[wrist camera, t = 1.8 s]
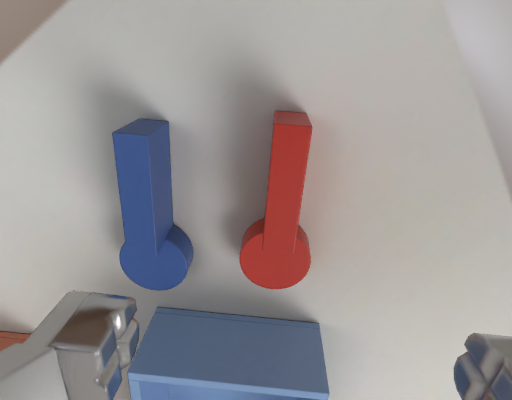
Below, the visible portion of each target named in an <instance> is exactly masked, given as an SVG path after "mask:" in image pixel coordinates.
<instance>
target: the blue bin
mask: <svg viewBox="0 0 512 400" xmlns="http://www.w3.org/2000/svg"><path fill="white" fill-rule="evenodd" d="M127 375H128V381H129V387H130V394H131V400H328V397H329V387H328V380H327V374H326V367H325V360H324V353H323V347H322V340H321V333H320V327H319V323H310V322H300V321H290V320H280V319H270V318H260V317H250V316H240V315H230V314H220V313H210V312H200V311H190V310H180V309H170V308H160V307H157V309H156V311H155V313H154V315H153V318H152V320H151V322H150V324H149V326H148V328H147V331H146V333H145V335H144V337H143V339H142V342H141V344H140V346H139V348H138V350H137V352H136V355H135V357H134V359H133V361H132V363H131V365H130V368H129V370H128V372H127Z"/></svg>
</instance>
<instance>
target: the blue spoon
mask: <svg viewBox="0 0 512 400" xmlns="http://www.w3.org/2000/svg"><path fill="white" fill-rule="evenodd" d="M112 135H113V144H114V152H115V160H116V168H117V177H118V185H119V193H120V201H121V210H122V218H123V226H124V234H125V243H124V244H123V246H122V248H121V251H120V264H121V267H122V269H123V271H124V273H125V274H126V275H127V276H128V277H129V278H130V279H131V280H132V281H133V282H134V283H136V284H138V285H139V286H142V287H144V288H147V289H151V290H167V289H171V288H173V287H175V286H177V285H178V284H180V283H181V282H182V281H183V279H184V278H185V276H186V274H187V271H188V269H189V266H190V264H191V261H192V258H193V247H192V244H191V241H190V240H189V238H188V237H187V235H186V234H185V233H184V232H183V231H182V230H181V229H179V228H178V227H176V226H174V225H173V209H172V187H171V164H170V142H169V122H168V121H159V120H148V119H137V120H135V121H133V122H132V123H130V124H128V125H126V126H124V127H122V128H120V129H118V130H116V131H115V132H113V133H112Z"/></svg>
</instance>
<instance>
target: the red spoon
mask: <svg viewBox="0 0 512 400" xmlns="http://www.w3.org/2000/svg"><path fill="white" fill-rule="evenodd" d="M311 133H312V125H311V123H310V120H309V118H308V116H307V113H299V112H287V111H275V114H274V124H273V135H272V145H271V156H270V166H269V176H268V187H267V197H266V208H265V218H264V219H261V220H259V221H257V222H255V223H254V224H253V225H251V226H250V227H249V228H248V230H247V231H246V232H245V235H244V237H243V241H242V246H241V252H240V266H241V269H242V271H243V273H244V274H245V275H246V277H247V278H248V279H249V280H251V281H252V282H253V283H255V284H257V285H259V286H261V287H264V288H269V289H283V288H287V287H290V286H293V285H295V284H297V283H298V282H299V281H301V280H302V279H303V278H304V277H305V275H306V274H307V272H308V270H309V268H310V263H311V257H310V250H309V244H308V239H307V236H306V234H305V232H304V231H303V229H302V228H301V227H300V226H299V225H298V221H299V214H300V207H301V201H302V194H303V187H304V180H305V174H306V167H307V160H308V153H309V147H310V140H311Z"/></svg>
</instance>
